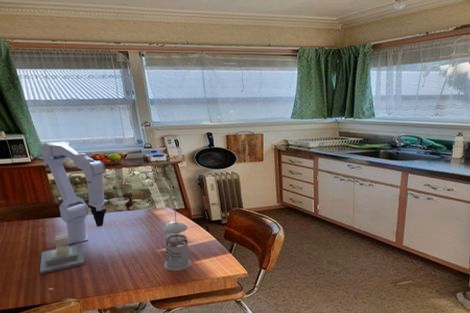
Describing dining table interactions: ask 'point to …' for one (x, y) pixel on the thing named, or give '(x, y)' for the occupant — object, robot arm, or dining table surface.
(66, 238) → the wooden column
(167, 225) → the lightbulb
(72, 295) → the dining table surface
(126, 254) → the dining table surface
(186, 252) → the french press
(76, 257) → the stepped stand
